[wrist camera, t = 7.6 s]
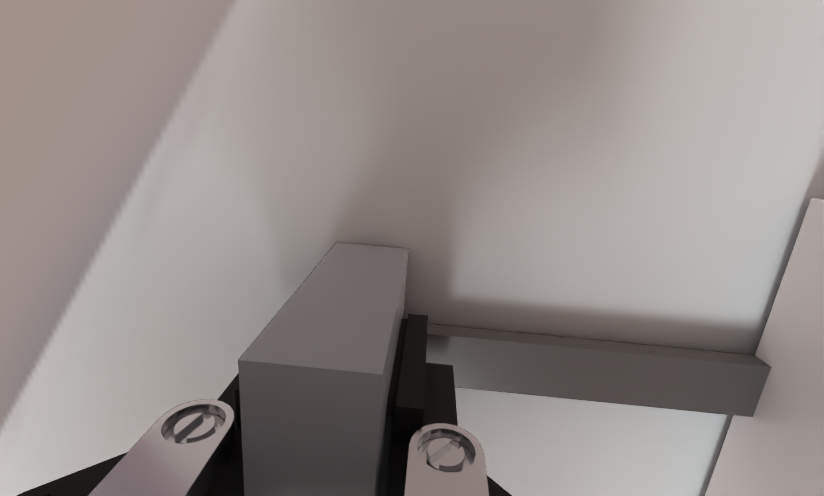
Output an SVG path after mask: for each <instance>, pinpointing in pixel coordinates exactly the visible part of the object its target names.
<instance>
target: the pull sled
mask: <svg viewBox="0 0 824 496" xmlns="http://www.w3.org/2000/svg"><path fill="white" fill-rule="evenodd" d="M408 254H409V249H405V248H394V247H383V246H372V245H361V244H351V243H340V242H336V244H335V245H334V246H333V247H332V248H331V250H330V251H329V252H328V253H327V254H326V256H325V257H324V258H323V259H322V260H321V262H320V263H319V264H318V265H317V266H316V267H315V269H314V270H313V271H312V272H311V273H310V275H309V276H308V277H307V278H306V279H305V281H304V282H303V283H302V284H301V285H300V287H299V288H298V289H297V290H296V291H295V293H294V294H293V295H292V296H291V297H290V299H289V300H288V301H287V302H286V303H285V305H284V306H283V307H282V308H281V309H280V311H279V312H278V313H277V314H276V315H275V316H274V318H273V319H272V320H271V321H270V322H269V324H268V325H267V326H266V327H265V328H264V330H263V331H262V332H261V333H260V334H259V336H258V337H257V338H256V339H255V340H254V342H253V343H252V344H251V345H250V346H249V348H248V349H247V350H246V351H245V352H244V354H243V355H242V356H241V357H240V358H239V360H238V367H239V388H240V410H241V432H242V454H243V476H244V496H380V487H381V473H382V460H383V446H384V432H385V419H386V409H387V401H388V394H389V388H390V383H391V377H392V371H393V365H394V359H395V354H396V348H397V342H398V336H399V331H400V325H401V319H403V315H404V303H405V291H406V278H407V266H408ZM426 363H436V364H447V365H453V372H454V385H455V387H459V388H469V389H479V390H488V391H498V392H508V393H518V394H528V395H538V396H548V397H558V398H568V399H578V400H588V401H598V402H608V403H618V404H627V405H637V406H647V407H657V408H667V409H677V410H687V411H697V412H707V413H717V414H727V415H734V416H733V418H732V421H731V424H730V427H729V430H728V432H727V435H726V438H725V441H724V443H723V446H722V449H721V452H720V455H719V457H718V460H717V463H716V466H715V469H714V471H713V474H712V477H711V480H710V483H709V485H708V488H707V491H706V494H705V496H824V199H819V198H811V201H810V203H809V206H808V209H807V212H806V214H805V217H804V220H803V223H802V226H801V228H800V231H799V234H798V237H797V240H796V242H795V245H794V248H793V251H792V254H791V256H790V259H789V262H788V265H787V268H786V270H785V273H784V276H783V279H782V282H781V284H780V287H779V290H778V293H777V295H776V298H775V301H774V304H773V307H772V309H771V312H770V315H769V318H768V321H767V323H766V326H765V329H764V332H763V335H762V337H761V340H760V343H759V346H758V349H757V351H756V354H755V355H746V354H735V353H725V352H715V351H704V350H694V349H684V348H673V347H663V346H653V345H642V344H632V343H622V342H611V341H601V340H591V339H580V338H570V337H559V336H549V335H539V334H528V333H518V332H508V331H497V330H487V329H477V328H466V327H456V326H446V325H435V324H427V350H426Z"/></svg>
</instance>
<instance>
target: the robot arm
mask: <svg viewBox="0 0 824 496" xmlns="http://www.w3.org/2000/svg"><path fill="white" fill-rule="evenodd" d="M427 324H428V316H425V315H415V314H408V319H401V325H400V331H399V336H398V342H397V348H396V354H395V359H394V365H393V371H392V377H391V383H390V388H389V394H388V401H387V409H386V419H385V432H384V446H383V460H382V473H381V487H380V496H512V495H510V494H509V493H508V492H507V491H505V490H504V489H503V488H502V487H501V486H499V485H498V484H497V483H496V482H494V481H493V480H492V479H491V478H489V477H488V476H487V475H486V467H485V460H484V453H483V450H482V447H481V444H480V443H479V442H478V440H477V439H476V438H475V436H473V435H472V434H471V433H469V432H468V431H467V430H465V429H462V428H460V427H458V426H457V412H456V399H455V385H454V372H453V365H447V364H436V363H426V350H427ZM17 496H244V476H243V454H242V432H241V410H240V388H239V373H238V374H237V376H236V377H235V378H234V380H233V381H232V382H231V383H230V385H229V386H228V387H227V388H226V390H225V391H224V392H223V393H222V395H221V396H220V397H219V398H218V400H213V399H201V400H196V401H190V402H187V403H184V404H182V405H179V406H177V407H175V408H173V409H171V410H169V411H168V412H166V413H165V414H164V415H163V416H161V417H160V418H159V419H158V420H157V421H156V422H155V423H154V424H153V426H152V427H151V428H150V429H149V430H148V431H147V432H146V433H145V434H144V435H143V436H142V437H141V439H140V440H139V441H138V442H137V443H136V444H135V445H134V446H133V447H132V448H131V449H130V451H129V452H127V453H124V454H122V455H119V456H117V457H114V458H111V459H109V460H106V461H104V462H101V463H98V464H96V465H93V466H91V467H88V468H85V469H83V470H80V471H78V472H75V473H72V474H70V475H67V476H65V477H62V478H59V479H57V480H54V481H52V482H49V483H46V484H44V485H41V486H39V487H36V488H33V489H31V490H28V491H26V492H23V493H21V494H19V495H17Z"/></svg>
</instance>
